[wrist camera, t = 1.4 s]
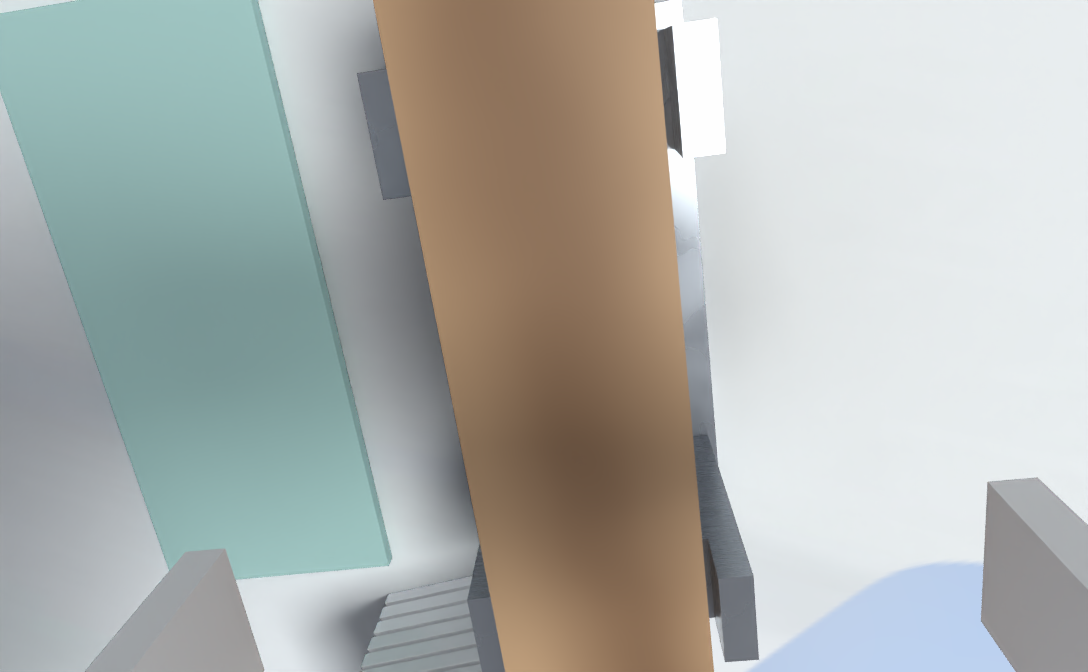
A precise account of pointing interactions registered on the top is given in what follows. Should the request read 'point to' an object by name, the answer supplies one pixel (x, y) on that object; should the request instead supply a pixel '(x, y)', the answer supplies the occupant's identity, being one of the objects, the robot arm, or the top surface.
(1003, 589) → the robot arm
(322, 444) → the mat
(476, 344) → the rail
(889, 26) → the top surface
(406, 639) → the stack of papers
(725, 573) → the standards
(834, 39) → the top surface
